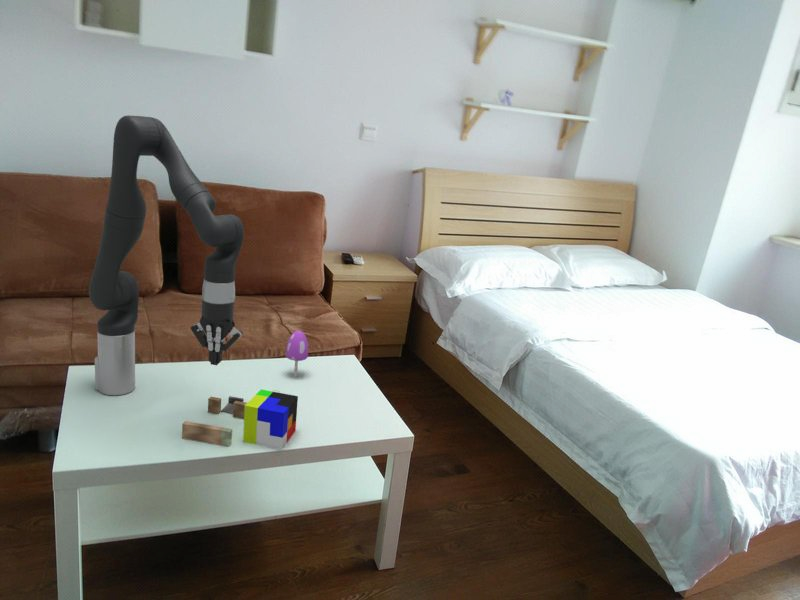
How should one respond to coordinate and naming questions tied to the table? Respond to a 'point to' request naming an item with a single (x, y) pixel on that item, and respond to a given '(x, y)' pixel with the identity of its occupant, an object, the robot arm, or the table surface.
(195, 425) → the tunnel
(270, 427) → the puzzle toy
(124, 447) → the table surface
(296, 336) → the toy
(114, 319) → the robot arm
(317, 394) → the table surface
